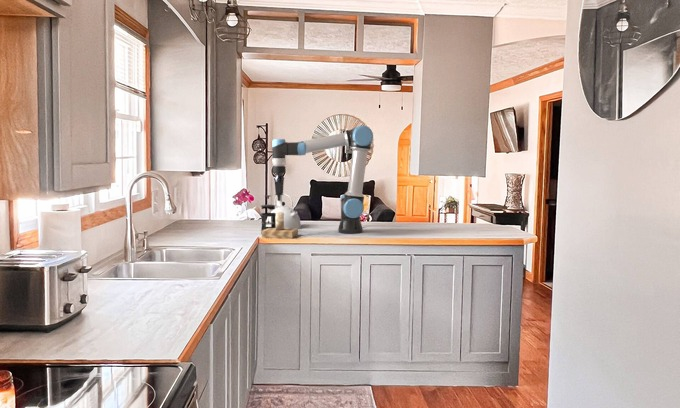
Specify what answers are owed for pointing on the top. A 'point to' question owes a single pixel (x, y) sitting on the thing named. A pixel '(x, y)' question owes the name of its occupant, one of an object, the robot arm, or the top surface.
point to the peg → (280, 221)
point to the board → (280, 233)
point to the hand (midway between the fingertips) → (279, 206)
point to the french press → (264, 215)
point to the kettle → (287, 215)
